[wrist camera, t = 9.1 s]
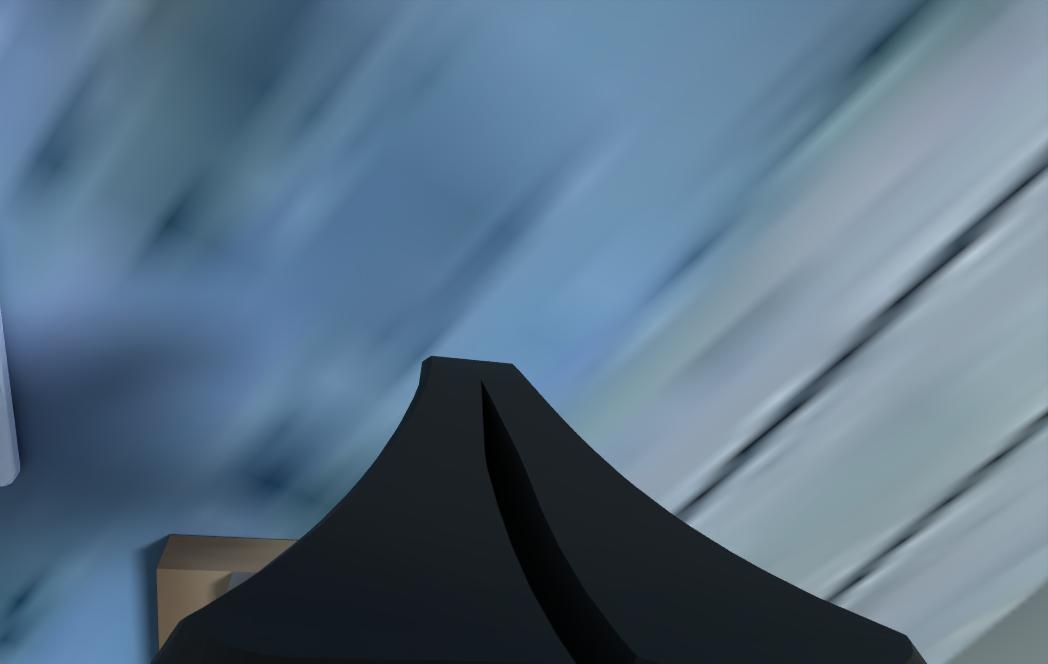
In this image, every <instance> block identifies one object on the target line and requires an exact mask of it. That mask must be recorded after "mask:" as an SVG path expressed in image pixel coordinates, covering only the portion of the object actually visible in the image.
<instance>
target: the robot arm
mask: <svg viewBox="0 0 1048 664" xmlns="http://www.w3.org/2000/svg"><path fill="white" fill-rule="evenodd" d="M19 473H20V460H19V452H18V445H17V437H16V429H15V421H14V413H13V405H12V397H11V389H10V381H9V373H8V365H7V357H6V349H5V341H4V333H3V325H2V317H1V309H0V487H1V486H7V485H9V484H11V483H12V482H13V481H14V480H15V478H16V477H17V476H18V474H19ZM151 664H927V663H926V662H925V660H924V659H923V657H922V656H921V655H920V653H919V652H918V650H917V649H916V648H915V646H914V645H913V644H912V642H911V641H910V639H909V638H908V637H907V636H906V635H904V634H902V633H900V632H897V631H895V630H893V629H890V628H888V627H886V626H883V625H881V624H879V623H876V622H874V621H872V620H869V619H867V618H865V617H862V616H860V615H858V614H855V613H853V612H851V611H848V610H846V609H844V608H841V607H839V606H837V605H834V604H832V603H830V602H827V601H825V600H823V599H820V598H818V597H816V596H814V595H812V594H810V593H808V592H806V591H804V590H802V589H800V588H798V587H796V586H794V585H792V584H790V583H788V582H786V581H784V580H782V579H780V578H778V577H776V576H774V575H772V574H770V573H768V572H766V571H764V570H762V569H761V568H759V567H757V566H755V565H753V564H752V563H750V562H748V561H746V560H745V559H743V558H741V557H739V556H737V555H736V554H734V553H732V552H730V551H729V550H727V549H726V548H724V547H722V546H721V545H719V544H718V543H716V542H714V541H713V540H711V539H709V538H708V537H706V536H705V535H703V534H701V533H700V532H698V531H697V530H695V529H693V528H692V527H690V526H689V525H687V524H686V523H684V522H683V521H681V520H680V519H679V518H677V517H676V516H674V515H673V514H671V513H670V512H668V511H667V510H666V509H664V508H663V507H662V506H660V505H659V504H658V503H657V502H655V501H654V500H653V499H651V498H650V497H649V496H647V495H646V494H645V493H643V492H642V491H641V490H639V489H638V488H637V487H635V486H634V485H633V484H632V483H631V482H629V481H628V480H627V479H626V478H624V477H623V476H622V475H621V474H620V473H619V472H617V471H616V470H615V469H614V468H613V467H612V466H611V465H610V464H609V463H607V462H606V461H605V460H604V459H603V458H602V457H601V456H600V455H599V454H598V453H596V452H595V451H594V450H593V449H592V448H591V447H590V446H589V445H588V444H587V443H586V442H585V441H584V440H583V439H582V438H581V437H580V436H579V435H578V434H577V433H576V432H575V431H574V430H573V429H572V428H571V427H570V426H569V425H568V424H567V423H566V422H565V421H564V420H563V419H562V418H561V417H560V416H559V414H558V413H557V412H556V411H555V410H554V409H553V408H552V407H551V406H550V405H549V404H548V402H547V401H546V400H545V399H544V398H543V397H542V396H541V395H540V394H539V392H538V391H537V390H536V389H535V388H534V387H533V386H532V385H531V383H530V382H529V381H528V380H527V379H526V378H525V377H524V375H523V374H522V373H521V372H520V371H519V370H518V369H517V368H516V367H515V366H514V365H513V364H509V363H499V362H489V361H479V360H469V359H458V358H448V357H438V356H430V357H429V358H427V359H426V360H424V361H423V362H422V367H421V374H420V381H419V386H418V388H417V391H416V393H415V396H414V398H413V400H412V402H411V404H410V406H409V408H408V410H407V411H406V413H405V415H404V417H403V419H402V421H401V423H400V424H399V426H398V428H397V429H396V431H395V432H394V434H393V435H392V437H391V438H390V440H389V441H388V443H387V444H386V446H385V447H384V449H383V450H382V452H381V453H380V455H379V456H378V458H377V459H376V460H375V462H374V463H373V464H372V465H371V467H370V468H369V469H368V471H367V472H366V473H365V474H364V475H363V477H362V478H361V479H360V480H359V481H358V482H357V484H356V485H355V486H354V487H353V488H352V489H351V491H350V492H349V493H348V494H347V495H346V496H345V497H344V498H343V499H342V500H341V501H340V502H339V503H338V504H337V505H336V506H335V507H334V508H333V509H332V510H331V511H330V512H329V513H328V514H327V515H326V516H325V517H324V518H323V519H322V520H321V521H320V522H319V523H318V524H317V525H316V526H314V527H313V528H312V529H311V530H310V531H309V532H308V533H307V534H305V535H304V536H303V537H302V538H301V539H299V540H298V541H297V542H296V543H294V544H293V545H292V546H290V547H289V548H288V549H287V550H285V551H284V552H283V553H282V554H280V555H279V556H278V557H276V558H275V559H274V560H273V561H271V562H270V563H269V564H268V565H266V566H265V567H264V568H262V569H261V570H260V571H259V572H257V573H256V574H254V575H253V576H251V577H250V578H249V579H247V580H246V581H244V582H243V583H241V584H239V585H238V586H236V587H235V588H233V589H231V590H230V591H228V592H227V593H225V594H223V595H222V596H220V597H219V598H217V599H215V600H214V601H212V602H211V603H209V604H207V605H206V606H204V607H203V608H201V609H199V610H197V611H195V612H194V613H192V614H190V615H188V616H186V617H185V618H183V619H182V620H180V621H179V622H178V624H177V625H176V627H175V628H174V630H173V631H172V633H171V634H170V635H169V637H168V639H167V640H166V642H165V643H164V645H163V646H162V648H161V649H160V651H159V652H158V654H157V655H156V657H155V658H154V660H153V661H152V663H151Z"/></svg>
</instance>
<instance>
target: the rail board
mask: <svg viewBox="0 0 1048 664" xmlns="http://www.w3.org/2000/svg"><path fill="white" fill-rule="evenodd" d="M296 542H297V541H296V540H275V539H253V538H232V537H211V536H190V535H170V537H169V539H168V541H167V544H166V546H165V549H164V551H163V554H162V556H161V559H160V561H159V564H158V566H157V568H156V572H157V602H158V632H159V651H160V649H161V648H162V646H163V645H164V643H165V642H166V640H167V639H168V637H169V635H170V634H171V633H172V631H173V630H174V628H175V627H176V625H177V624H178V622H179V621H180V620H182V619H183V618H185V617H186V616H188V615H190V614H192V613H194V612H195V611H197V610H199V609H201V608H203V607H204V606H206V605H207V604H209V603H211V602H212V601H214V600H215V599H217V598H219V597H220V596H222V595H223V594H225V593H227V592H228V591H230V590H231V589H233V588H235V587H236V586H238V585H239V584H241V583H243V582H244V581H246V580H247V579H249V578H250V577H251V576H253V575H254V574H256V573H257V572H259V571H260V570H261V569H262V568H264V567H265V566H266V565H268V564H269V563H270V562H271V561H273V560H274V559H275V558H276V557H278V556H279V555H280V554H282V553H283V552H284V551H285V550H287V549H288V548H289V547H290V546H292V545H293V544H294V543H296Z"/></svg>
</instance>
